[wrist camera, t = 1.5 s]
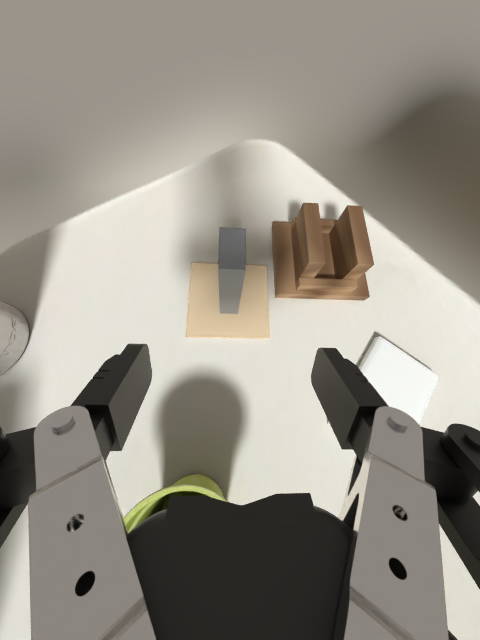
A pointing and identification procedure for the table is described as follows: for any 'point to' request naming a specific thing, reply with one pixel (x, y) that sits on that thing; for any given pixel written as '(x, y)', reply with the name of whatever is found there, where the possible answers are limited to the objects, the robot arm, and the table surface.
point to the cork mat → (206, 307)
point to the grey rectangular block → (231, 268)
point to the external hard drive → (398, 378)
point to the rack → (322, 255)
